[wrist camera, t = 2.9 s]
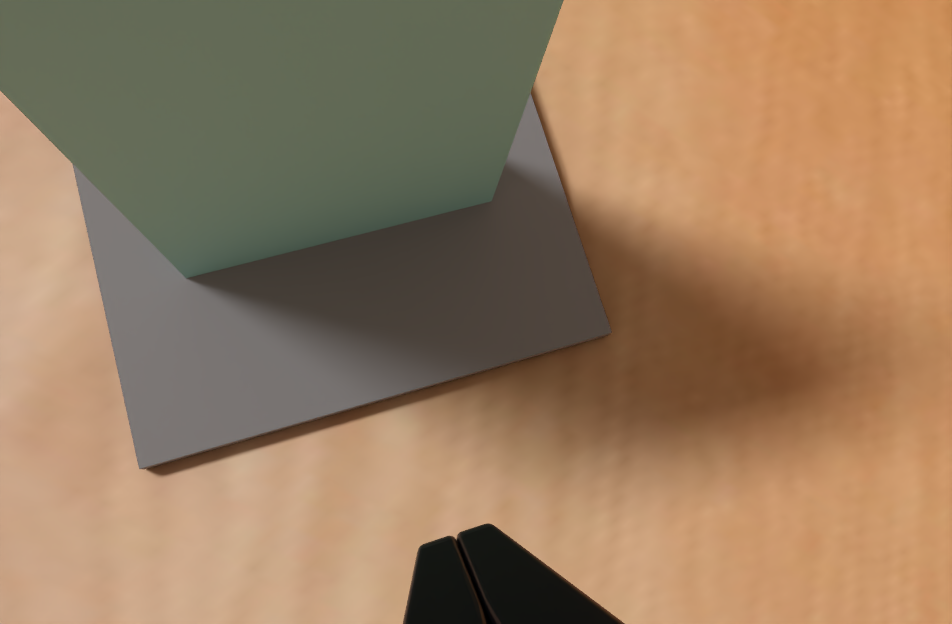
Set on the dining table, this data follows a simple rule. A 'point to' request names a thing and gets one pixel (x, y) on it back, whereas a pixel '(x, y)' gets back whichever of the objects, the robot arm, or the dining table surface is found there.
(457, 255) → the mat
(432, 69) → the teal board
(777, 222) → the dining table surface
